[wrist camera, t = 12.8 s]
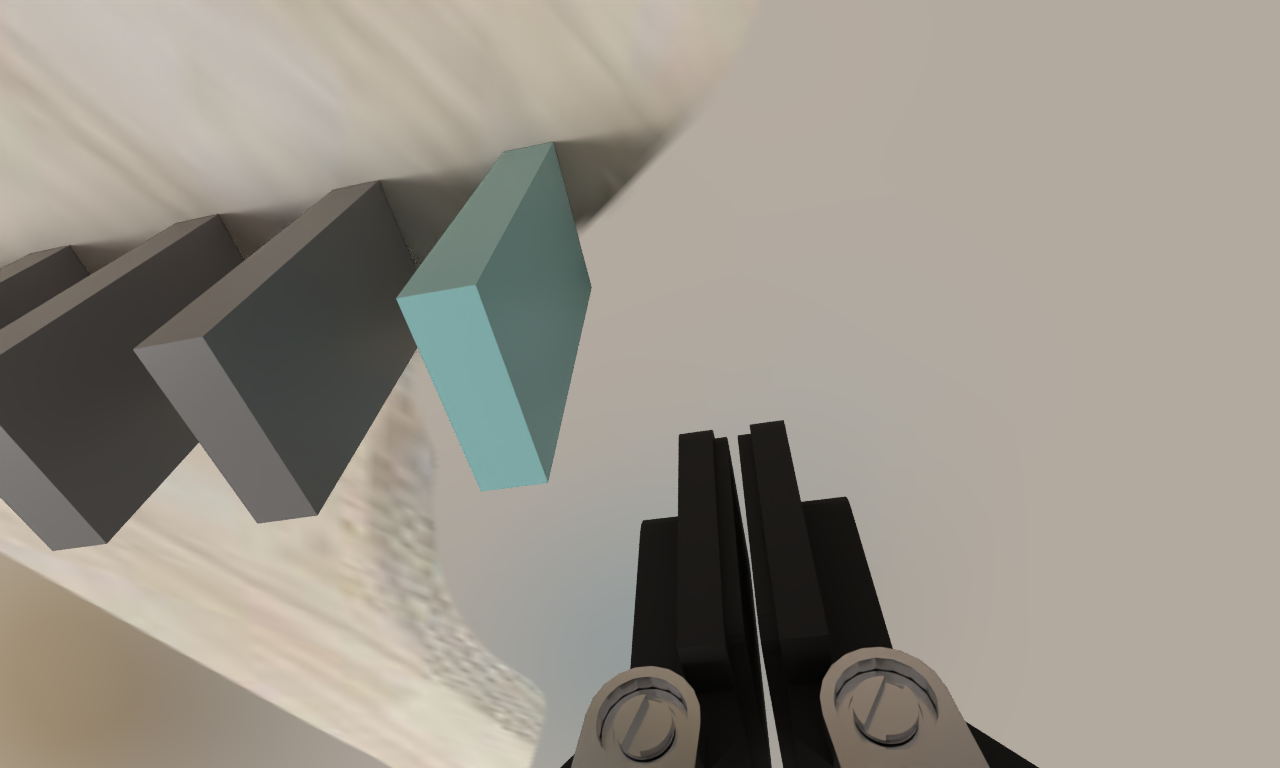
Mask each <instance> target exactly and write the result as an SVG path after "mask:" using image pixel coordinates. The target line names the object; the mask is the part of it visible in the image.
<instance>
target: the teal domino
mask: <svg viewBox="0 0 1280 768" xmlns="http://www.w3.org/2000/svg"><path fill="white" fill-rule="evenodd" d="M590 292H591V283H590V280H589V276H588V272H587V268H586V265H585V261H584V257H583V253H582V249H581V246H580V242H579V238H578V234H577V230H576V227H575V223H574V219H573V215H572V211H571V208H570V204H569V200H568V196H567V192H566V189H565V185H564V181H563V177H562V173H561V170H560V166H559V162H558V158H557V154H556V151H555V147H554V143H553V142H550V143H545V144H540V145H535V146H530V147H525V148H520V149H515V150H510V151H505V152H503V153H502V155H501V156H500V157H499V159H498V160H497V162H496V163H495V164H494V166H493V167H492V168H491V170H490V171H489V172H488V174H487V175H486V177H485V178H484V179H483V181H482V182H481V183H480V185H479V186H478V187H477V189H476V190H475V192H474V193H473V194H472V196H471V197H470V198H469V200H468V201H467V202H466V204H465V205H464V207H463V208H462V209H461V211H460V212H459V213H458V215H457V216H456V217H455V219H454V220H453V222H452V223H451V224H450V226H449V227H448V228H447V230H446V231H445V232H444V234H443V235H442V236H441V238H440V239H439V241H438V242H437V243H436V245H435V246H434V247H433V249H432V250H431V251H430V253H429V254H428V256H427V257H426V258H425V260H424V261H423V262H422V264H421V265H420V266H419V268H418V269H417V271H416V272H415V273H414V275H413V276H412V277H411V279H410V280H409V281H408V283H407V284H406V286H405V287H404V288H403V290H402V291H401V292H400V294H399V295H398V296H397V298H396V299H397V302H398V304H399V306H400V309H401V311H402V313H403V315H404V318H405V320H406V322H407V324H408V327H409V329H410V331H411V334H412V336H413V338H414V340H415V343H416V345H417V347H418V350H419V352H420V354H421V356H422V359H423V361H424V363H425V365H426V368H427V370H428V372H429V375H430V377H431V379H432V381H433V384H434V386H435V388H436V390H437V392H438V395H439V397H440V399H441V401H442V404H443V406H444V409H445V411H446V413H447V415H448V418H449V420H450V422H451V425H452V427H453V429H454V431H455V434H456V436H457V438H458V440H459V443H460V445H461V447H462V450H463V452H464V454H465V456H466V459H467V461H468V463H469V466H470V468H471V470H472V472H473V475H474V477H475V479H476V481H477V484H478V486H479V488H480V491H488V490H496V489H503V488H510V487H519V486H527V485H535V484H542V483H548V480H549V476H550V471H551V467H552V462H553V458H554V453H555V449H556V444H557V440H558V435H559V431H560V426H561V421H562V417H563V413H564V408H565V404H566V399H567V395H568V390H569V386H570V382H571V377H572V373H573V368H574V364H575V359H576V355H577V350H578V345H579V341H580V337H581V332H582V327H583V323H584V319H585V314H586V310H587V306H588V301H589V296H590Z"/></svg>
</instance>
